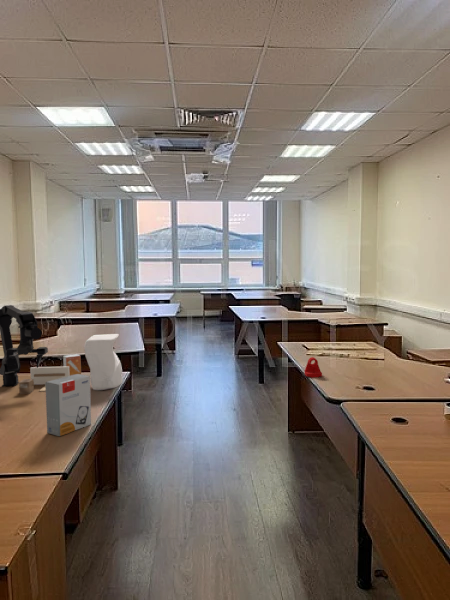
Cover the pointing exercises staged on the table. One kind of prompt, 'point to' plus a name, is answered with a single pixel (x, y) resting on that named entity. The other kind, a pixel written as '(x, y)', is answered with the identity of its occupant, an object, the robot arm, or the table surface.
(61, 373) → the white slotted box
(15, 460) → the table surface
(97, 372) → the white curved block
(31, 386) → the cabinet block
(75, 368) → the small box
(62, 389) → the hard drive box
